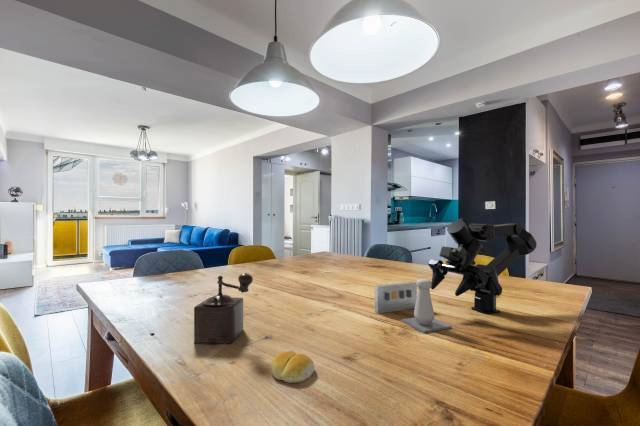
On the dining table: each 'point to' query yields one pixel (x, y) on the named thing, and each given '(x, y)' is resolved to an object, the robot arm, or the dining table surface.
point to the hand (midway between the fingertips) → (443, 291)
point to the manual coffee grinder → (221, 315)
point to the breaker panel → (395, 297)
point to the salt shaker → (424, 303)
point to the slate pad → (434, 325)
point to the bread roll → (292, 367)
